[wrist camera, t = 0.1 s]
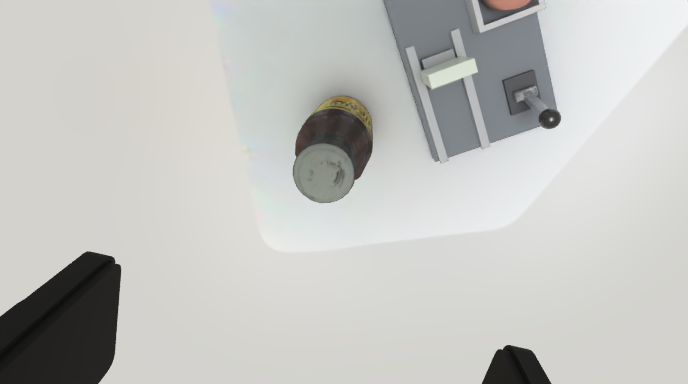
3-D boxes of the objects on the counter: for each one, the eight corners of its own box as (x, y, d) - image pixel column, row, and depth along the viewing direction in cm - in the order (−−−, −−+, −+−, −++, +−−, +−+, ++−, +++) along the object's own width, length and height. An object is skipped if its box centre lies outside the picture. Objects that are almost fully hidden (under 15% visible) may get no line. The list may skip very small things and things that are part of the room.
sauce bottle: (383, 123, 46) (402, 180, 27) (342, 163, 47) (333, 243, 29) (339, 79, 44) (326, 106, 26) (298, 122, 46) (259, 177, 27)
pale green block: (415, 61, 42) (424, 64, 36) (455, 46, 41) (471, 47, 36) (424, 91, 43) (435, 98, 37) (463, 76, 42) (480, 82, 36)
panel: (379, -12, 41) (382, -17, 38) (513, -66, 40) (529, -77, 36) (433, 158, 47) (439, 168, 43) (552, 117, 45) (569, 123, 42)
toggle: (512, 87, 42) (542, 119, 37) (532, 79, 41) (565, 111, 36) (514, 103, 43) (543, 136, 38) (534, 95, 43) (566, 128, 38)
